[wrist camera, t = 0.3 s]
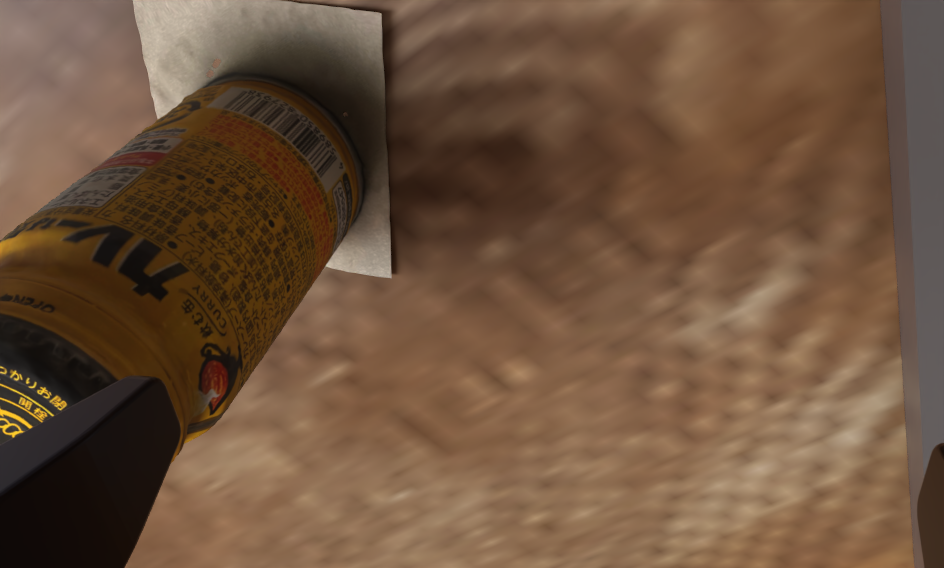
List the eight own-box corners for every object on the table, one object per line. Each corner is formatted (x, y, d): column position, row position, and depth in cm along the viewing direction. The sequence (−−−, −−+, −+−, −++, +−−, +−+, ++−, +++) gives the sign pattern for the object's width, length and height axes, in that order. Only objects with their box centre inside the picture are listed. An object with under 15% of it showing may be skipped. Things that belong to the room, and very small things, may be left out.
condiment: (186, 242, 28) (-86, 526, 18) (133, -16, 23) (-281, 182, 13) (393, 274, 26) (222, 596, 17) (385, 8, 21) (136, 248, 12)
